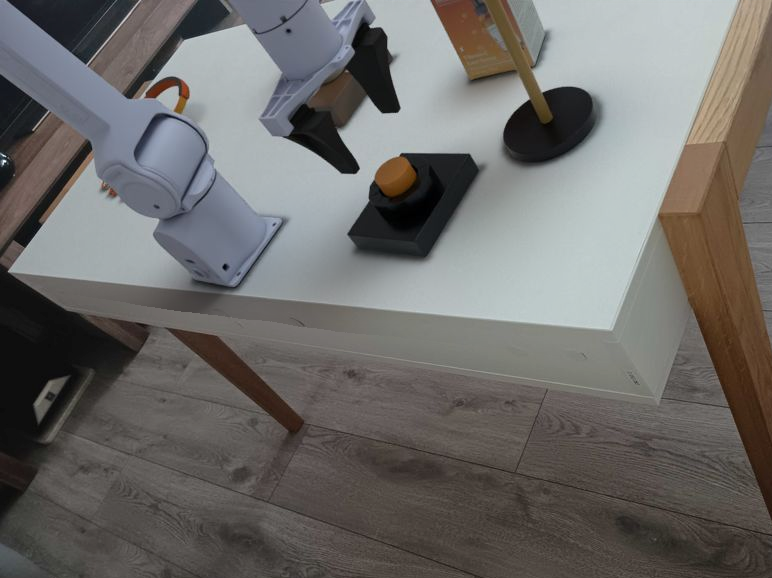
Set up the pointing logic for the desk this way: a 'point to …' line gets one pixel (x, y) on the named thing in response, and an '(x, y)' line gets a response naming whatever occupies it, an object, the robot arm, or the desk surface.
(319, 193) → the desk surface
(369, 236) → the switch base
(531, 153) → the desk lamp
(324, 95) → the dimmer panel
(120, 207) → the desk surface
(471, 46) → the small box
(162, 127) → the robot arm
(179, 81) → the headphones
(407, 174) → the lamp switch
